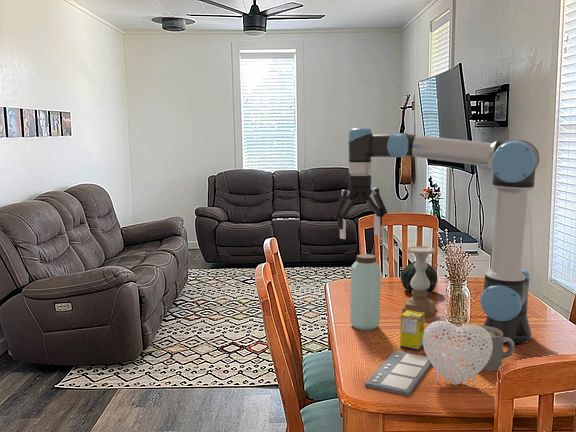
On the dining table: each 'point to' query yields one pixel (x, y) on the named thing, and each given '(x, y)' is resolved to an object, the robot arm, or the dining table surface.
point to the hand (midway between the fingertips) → (360, 236)
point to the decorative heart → (457, 350)
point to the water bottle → (365, 292)
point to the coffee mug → (495, 348)
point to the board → (399, 373)
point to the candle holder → (420, 283)
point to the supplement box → (412, 330)
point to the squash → (410, 272)
